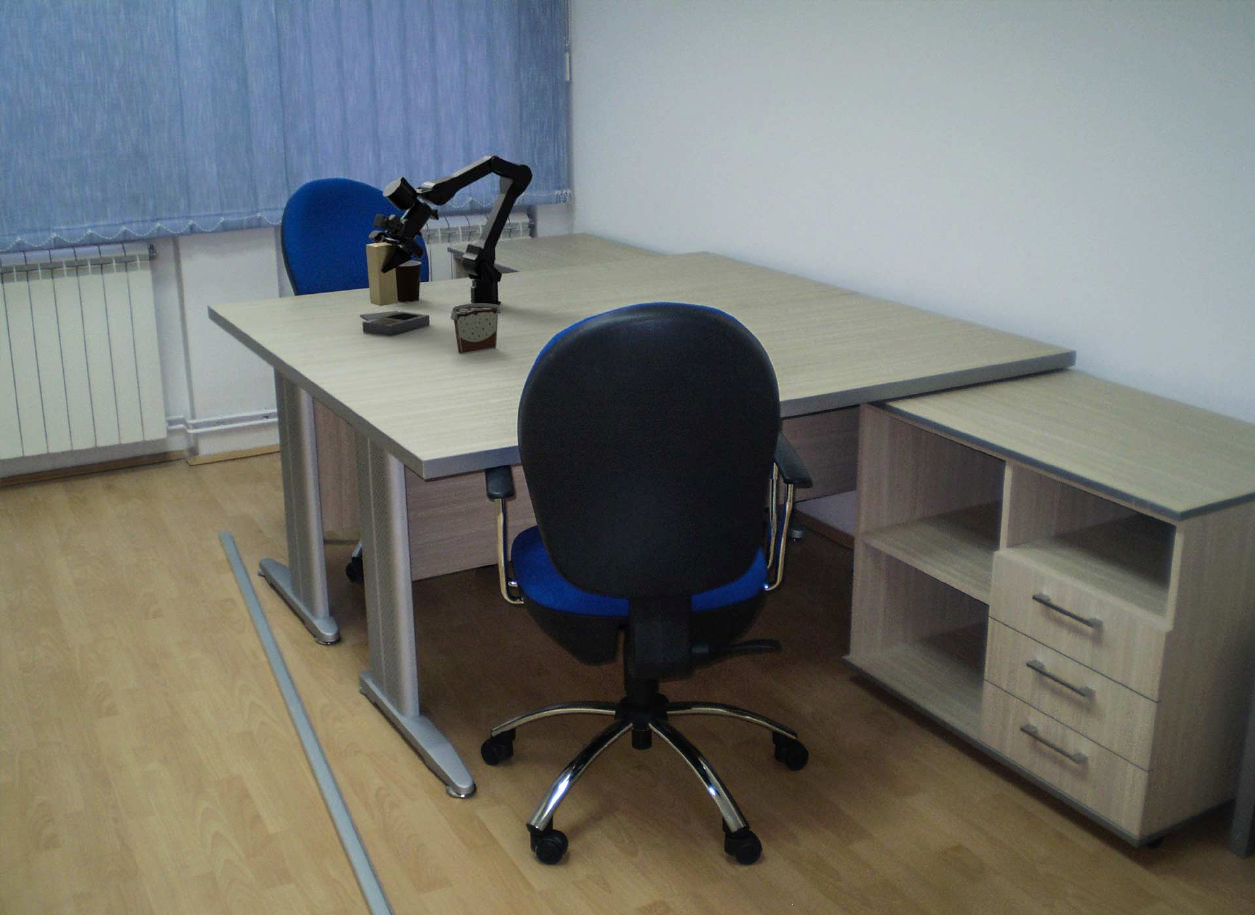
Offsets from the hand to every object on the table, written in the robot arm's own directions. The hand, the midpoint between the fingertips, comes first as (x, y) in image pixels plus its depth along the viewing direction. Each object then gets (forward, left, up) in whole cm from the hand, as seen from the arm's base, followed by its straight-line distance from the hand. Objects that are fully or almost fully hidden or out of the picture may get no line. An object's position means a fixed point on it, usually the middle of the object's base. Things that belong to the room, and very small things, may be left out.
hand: (377, 270), depth 321 cm
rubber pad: (-1, 0, -12) cm, 12 cm away
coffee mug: (-15, -21, -12) cm, 29 cm away
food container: (-8, +42, -12) cm, 44 cm away
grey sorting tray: (0, +13, -12) cm, 18 cm away
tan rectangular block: (-1, 0, -8) cm, 9 cm away
